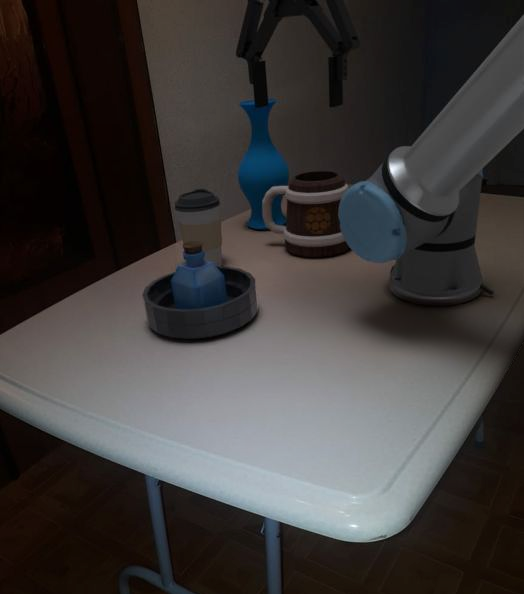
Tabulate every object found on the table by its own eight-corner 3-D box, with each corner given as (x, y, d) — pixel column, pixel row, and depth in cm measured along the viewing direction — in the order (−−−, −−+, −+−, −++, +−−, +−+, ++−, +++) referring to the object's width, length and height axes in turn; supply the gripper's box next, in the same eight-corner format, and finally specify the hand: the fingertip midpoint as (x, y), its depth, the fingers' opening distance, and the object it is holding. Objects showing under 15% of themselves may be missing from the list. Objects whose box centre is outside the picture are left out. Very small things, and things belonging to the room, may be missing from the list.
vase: (299, 218, 140) (293, 96, 126) (280, 233, 130) (271, 104, 117) (256, 216, 145) (245, 99, 131) (234, 231, 135) (220, 106, 121)
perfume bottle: (176, 314, 94) (165, 246, 88) (204, 301, 98) (194, 235, 92) (201, 323, 90) (190, 253, 85) (228, 309, 94) (219, 241, 88)
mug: (360, 236, 124) (360, 167, 116) (345, 261, 112) (344, 185, 104) (276, 233, 130) (271, 168, 123) (253, 256, 118) (246, 185, 111)
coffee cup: (220, 273, 112) (211, 198, 104) (178, 273, 114) (165, 199, 106) (231, 257, 119) (223, 186, 112) (191, 257, 121) (181, 187, 114)
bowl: (279, 305, 96) (277, 275, 93) (209, 353, 83) (204, 320, 81) (199, 287, 106) (194, 260, 103) (126, 327, 93) (119, 297, 91)
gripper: (386, -79, 71) (382, 101, 82) (234, -48, 85) (247, 103, 95) (359, -84, 66) (359, 109, 76) (202, -50, 80) (220, 110, 90)
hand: (297, 106), depth 86 cm, fingers open, 13 cm apart
